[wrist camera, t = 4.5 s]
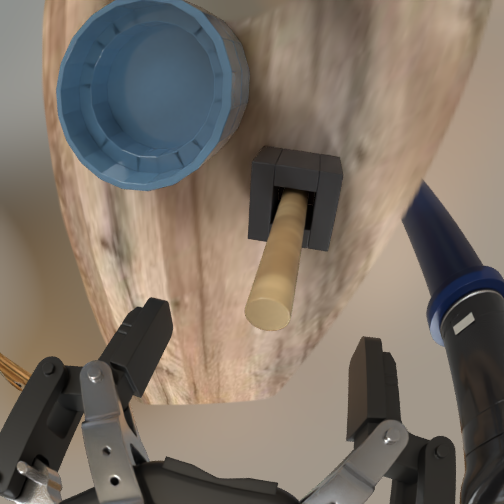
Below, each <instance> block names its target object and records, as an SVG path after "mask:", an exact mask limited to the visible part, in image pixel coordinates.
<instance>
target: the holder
mask: <svg viewBox="0 0 504 504" xmlns="http://www.w3.org/2000/svg"><path fill="white" fill-rule="evenodd" d="M342 180H343V172H342V167H341V162H340V157H335V156H329V155H323V154H317V153H311V152H304V151H297V150H290V149H282V148H274V147H266V146H264V147H263V148H262V149H261V151H260V152H259V153H258V155H257V156H256V157H255V159H254V160H253V161H252V171H251V189H250V207H249V226H248V239H253V240H259V241H265V242H267V240H268V237H269V234H270V231H271V228H272V225H273V222H274V219H275V215H276V212H277V209H278V206H279V203H280V200H278V197H279V187H285V188H292V189H299V190H305V191H312V192H315V194H314V200H313V205H309V204H307V211H306V219H305V227H304V234H303V242H302V248H307V247H308V248H309V249H315V250H321V251H328V249H329V244H330V240H331V235H332V230H333V226H334V221H335V216H336V211H337V206H338V201H339V196H340V191H341V185H342Z"/></svg>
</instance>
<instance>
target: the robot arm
mask: <svg viewBox="0 0 504 504" xmlns="http://www.w3.org/2000/svg"><path fill="white" fill-rule="evenodd" d="M172 331H173V323H172V318H171V313H170V307H169V303H168V301H165V300H161V299H156V298H152V297H151V298H149V299H148V300H147V302H146V304H145V305H144V307H143V308H142V307H136V308H135V309H134V310H132V311H131V312H130V313H128V315H127V316H126V318H125V319H124V321H123V322H122V325H120V327H119V328H118V331H117V332H116V333H115V334H114V336H113V338H112V339H111V341H110V342H109V344H108V345H107V347H106V349H105V350H104V352H103V353H102V355H101V357H100V358H99V359H98V360H95V361H91V362H89V363H87V364H86V365H85V366H84V367H78V366H65V365H64V364H63V363H62V361H61V360H60V359H59V358H57V357H53V356H52V357H47V358H45V359H43V360H42V361H41V362H40V363H39V364H38V365H37V367H36V369H35V370H34V372H33V374H32V375H31V377H30V379H29V380H28V382H27V384H26V386H25V388H24V389H23V391H22V393H21V394H20V396H19V398H18V400H17V402H16V403H15V405H14V407H13V409H12V411H11V413H10V415H9V416H8V419H7V420H6V422H5V424H4V427H3V428H2V430H1V432H0V496H2V497H4V498H6V499H7V500H10V501H12V502H15V503H17V504H364V503H365V502H366V501H367V499H368V498H369V497H370V496H371V495H372V493H373V492H374V490H375V486H376V484H377V483H378V482H379V481H380V479H381V478H382V477H383V476H385V477H388V478H391V479H392V488H391V497H390V504H455V490H456V456H455V447H454V444H453V443H452V441H451V440H450V439H448V438H447V437H444V436H437V437H435V438H433V439H432V440H427V439H424V438H421V437H418V436H415V435H413V434H411V433H409V432H408V431H407V429H406V427H405V426H404V425H403V424H402V421H401V415H400V401H399V390H398V379H397V370H396V363H395V361H394V359H393V357H392V355H391V354H390V353H389V352H383V351H382V342H381V339H380V338H373V337H364V336H363V337H362V338H361V339H360V342H359V344H358V346H357V348H356V350H355V352H354V354H353V356H352V358H351V361H350V366H349V387H348V390H349V391H348V419H347V437H346V440H347V441H352V442H354V450H353V451H352V452H351V453H350V454H349V455H348V456H347V457H346V458H345V459H344V460H343V461H342V462H341V463H340V464H339V465H338V466H337V467H336V468H335V469H334V470H333V471H332V472H331V473H330V474H329V475H328V476H327V477H326V478H325V479H324V480H323V481H322V482H321V483H319V484H318V485H317V486H316V487H315V488H314V489H312V491H310V492H309V493H308V494H307V495H306V496H305V497H303V498H302V499H301V500H300V501H298V500H297V499H296V498H295V497H294V496H293V495H291V494H290V493H288V492H287V491H285V490H283V489H280V488H278V487H277V486H278V483H276V482H269V481H263V480H257V479H251V478H236V479H222V478H217V477H215V476H213V475H211V474H209V473H207V472H205V471H203V470H201V469H200V468H198V467H196V466H194V465H192V464H189V463H185V462H182V461H179V460H176V459H173V458H170V457H166V458H165V461H149V458H148V455H147V452H146V450H145V448H144V446H143V444H142V442H141V439H140V436H139V433H138V430H137V426H136V423H135V419H134V416H133V412H132V408H131V404H130V400H131V398H132V396H133V395H134V396H137V397H140V398H141V397H142V395H143V393H144V391H145V389H146V387H147V385H148V383H149V381H150V379H151V377H152V375H153V372H154V370H155V368H156V366H157V364H158V362H159V360H160V358H161V356H162V354H163V352H164V350H165V348H166V346H167V344H168V342H169V340H170V338H171V336H172ZM440 333H441V337H442V339H443V341H444V345H445V349H446V352H447V357H448V361H449V365H450V370H451V374H452V379H453V384H454V389H455V394H456V400H457V405H458V411H459V418H460V425H461V433H462V439H463V450H464V459H465V460H464V461H465V474H464V478H463V482H462V486H461V492H460V504H504V299H503V297H502V295H501V293H500V292H499V291H497V290H495V289H493V288H478V289H475V290H472V291H470V292H467V293H465V294H464V295H462V296H461V297H459V298H458V299H456V300H455V301H454V302H453V303H452V304H451V305H450V306H449V307H448V308H447V310H446V311H445V313H444V314H443V316H442V318H441V321H440ZM83 413H84V414H85V421H84V422H82V433H83V439H84V444H85V449H86V454H87V458H88V463H89V467H90V471H91V475H92V479H93V482H94V486H95V487H93V488H91V489H88V490H86V491H84V492H82V493H79V494H77V495H75V496H73V497H71V498H68V499H65V500H63V501H62V499H61V494H60V491H61V490H62V484H61V478H60V476H59V474H58V470H59V468H60V465H61V463H62V461H63V458H64V456H65V453H66V451H67V449H68V446H69V444H70V442H71V439H72V437H73V435H74V432H75V431H76V428H77V426H78V424H79V422H80V420H81V417H82V415H83Z"/></svg>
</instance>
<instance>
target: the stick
mask: <svg viewBox="0 0 504 504" xmlns="http://www.w3.org/2000/svg"><path fill="white" fill-rule="evenodd" d="M308 195H309V191H305V190H299V189H292V188H284V191H283V194H282V197H281V200H280V203H279V206H278V209H277V212H276V215H275V219H274V222H273V225H272V228H271V231H270V234H269V237H268V240H267V243H266V246H265V249H264V252H263V255H262V258H261V261H260V264H259V267H258V270H257V274H256V277H255V280H254V283H253V286H252V289H251V292H250V295H249V298H248V301H247V304H246V307H245V316H246V318H247V320H248V321H249V322H250V323H251V324H252V325H253V326H255V327H257V328H259V329H262V330H266V331H276V330H280V329H282V328H284V327H286V326H287V325H288V323H289V322H290V319H291V313H292V307H293V301H294V295H295V289H296V282H297V276H298V269H299V263H300V256H301V249H302V242H303V234H304V227H305V219H306V211H307V203H308Z"/></svg>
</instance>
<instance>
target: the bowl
mask: <svg viewBox="0 0 504 504" xmlns="http://www.w3.org/2000/svg"><path fill="white" fill-rule="evenodd" d="M249 72H250V71H249V67H248V64H247V60H246V57H245V54H244V50H243V47H242V44H241V42H240V41H239V40H238V38H237V37H236V36H235V34H234V33H233V32H232V30H231V29H230V28H229V27H228V25H227V24H226V23H225V22H224V21H223V20H221V19H220V18H218V17H217V16H215V15H213V14H212V13H210V12H208V11H207V10H205V9H203V8H201V7H199V6H197V5H195V4H192V3H190V2H187V1H185V0H115V1H113V2H112V3H110V4H108V5H107V6H105V7H104V8H102V9H101V10H99V11H98V12H96V13H95V14H93V15H92V16H91V17H90V18H89V19H88V20H87V21H86V22H85V24H84V25H83V26H82V27H81V28H80V29H79V31H78V32H77V33H76V34H75V35H74V37H73V38H72V40H71V42H70V44H69V47H68V49H67V51H66V53H65V55H64V57H63V60H62V62H61V65H60V71H59V76H58V82H57V88H56V94H57V108H58V116H59V120H60V123H61V126H62V129H63V132H64V135H65V138H66V141H67V143H68V144H69V146H70V147H71V149H72V150H73V152H74V153H75V155H76V156H77V158H78V159H79V161H80V162H81V163H82V164H83V165H84V166H85V167H87V168H88V169H89V170H90V171H91V172H92V173H94V174H95V175H96V176H97V177H98V178H100V179H101V180H103V181H106V182H108V183H110V184H112V185H115V186H117V187H119V188H121V189H130V190H141V191H151V190H155V189H159V188H163V187H167V186H171V185H174V184H176V183H177V182H179V181H180V180H182V179H183V178H185V177H186V176H188V175H189V174H191V173H192V172H194V171H195V170H197V169H198V168H200V167H201V166H202V165H203V164H204V163H205V162H207V161H208V160H209V159H210V158H211V157H212V156H214V155H215V154H216V153H217V152H218V151H220V150H221V148H222V147H223V146H224V145H225V143H226V142H227V141H228V140H229V139H230V137H231V136H232V135H233V134H234V132H235V131H236V130H237V128H238V127H239V124H240V121H241V119H242V116H243V114H244V111H245V109H246V106H247V104H248V96H249V78H250V73H249Z"/></svg>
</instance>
